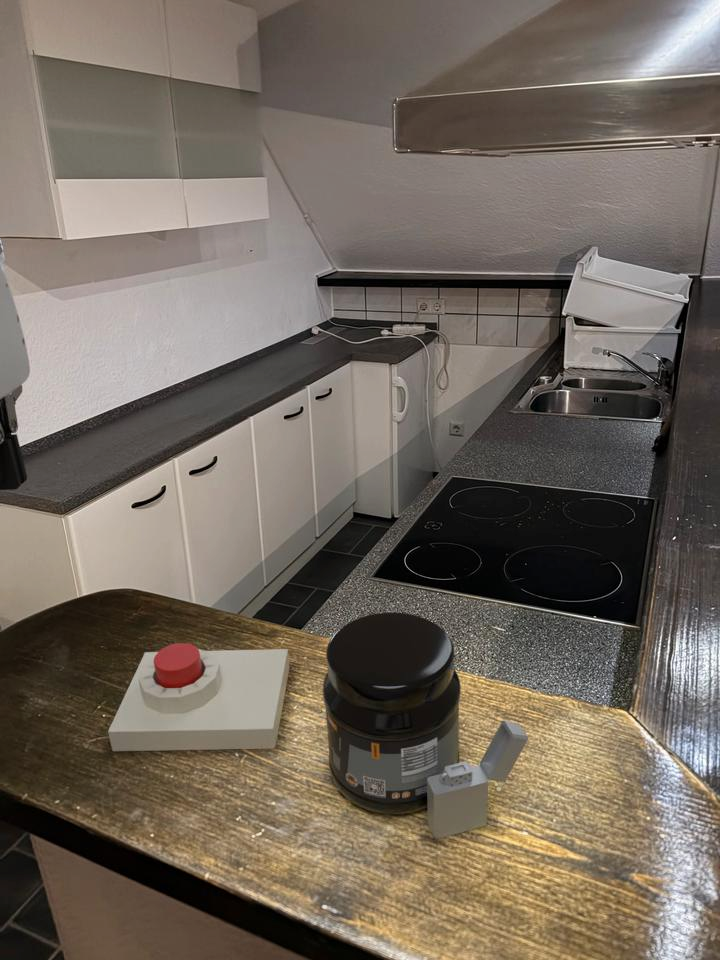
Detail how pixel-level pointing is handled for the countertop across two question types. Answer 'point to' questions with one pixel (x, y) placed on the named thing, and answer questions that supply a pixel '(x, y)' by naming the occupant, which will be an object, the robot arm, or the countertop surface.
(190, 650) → the power button
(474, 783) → the lighter
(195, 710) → the grey button base
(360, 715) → the supplement container
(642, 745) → the countertop surface
